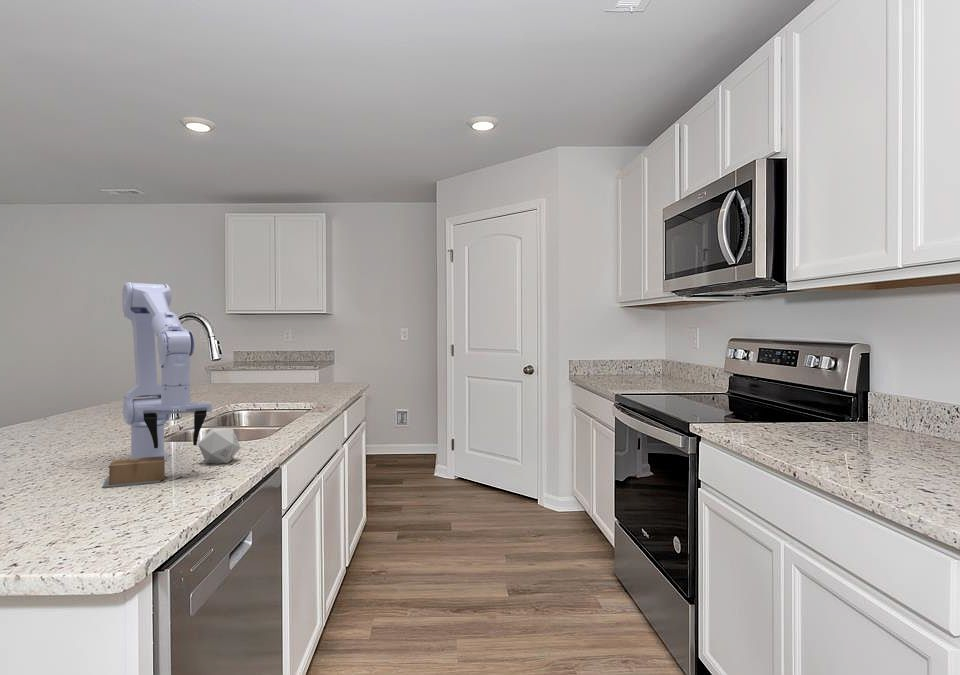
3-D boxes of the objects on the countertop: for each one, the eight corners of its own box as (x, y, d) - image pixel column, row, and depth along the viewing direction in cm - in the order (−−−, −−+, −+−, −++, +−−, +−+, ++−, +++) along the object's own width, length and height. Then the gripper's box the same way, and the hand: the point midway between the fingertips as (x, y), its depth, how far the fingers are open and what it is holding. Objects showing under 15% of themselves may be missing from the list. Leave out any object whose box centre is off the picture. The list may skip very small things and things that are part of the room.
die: (213, 470, 140) (240, 435, 143) (184, 450, 142) (211, 415, 145) (227, 475, 148) (252, 441, 151) (199, 455, 150) (225, 422, 153)
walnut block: (164, 473, 133) (112, 478, 129) (164, 455, 133) (112, 460, 129) (163, 479, 128) (109, 485, 123) (163, 461, 128) (109, 465, 123)
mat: (107, 478, 130) (107, 476, 130) (161, 473, 135) (161, 471, 135) (101, 488, 122) (101, 486, 122) (160, 482, 127) (160, 481, 127)
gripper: (136, 387, 124) (136, 452, 125) (212, 385, 131) (212, 446, 131) (139, 384, 131) (139, 446, 131) (211, 382, 137) (211, 440, 137)
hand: (175, 446), depth 131 cm, fingers open, 7 cm apart
